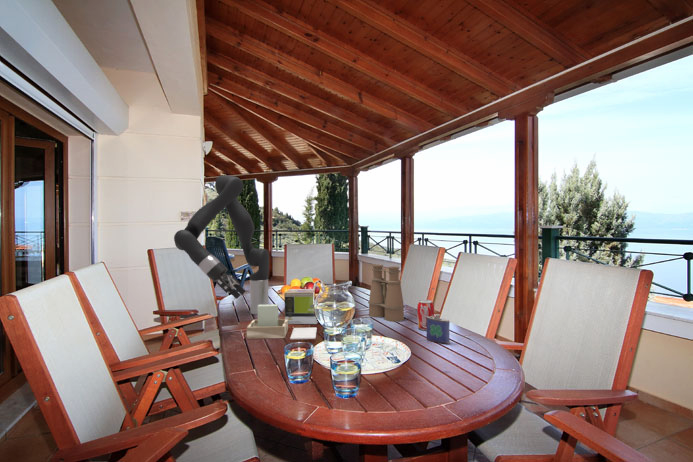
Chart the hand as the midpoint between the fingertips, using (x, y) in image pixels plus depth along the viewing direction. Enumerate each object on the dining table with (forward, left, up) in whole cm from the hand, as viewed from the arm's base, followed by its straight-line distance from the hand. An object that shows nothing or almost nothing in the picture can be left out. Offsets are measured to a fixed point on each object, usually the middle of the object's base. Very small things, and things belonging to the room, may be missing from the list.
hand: (241, 295), depth 148 cm
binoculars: (-23, +64, -17) cm, 70 cm away
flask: (+15, +78, -17) cm, 81 cm away
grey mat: (+1, +26, -16) cm, 31 cm away
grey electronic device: (-18, +24, -17) cm, 34 cm away
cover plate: (0, +11, -16) cm, 20 cm away
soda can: (-2, +78, -17) cm, 80 cm away
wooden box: (0, +11, -16) cm, 20 cm away
